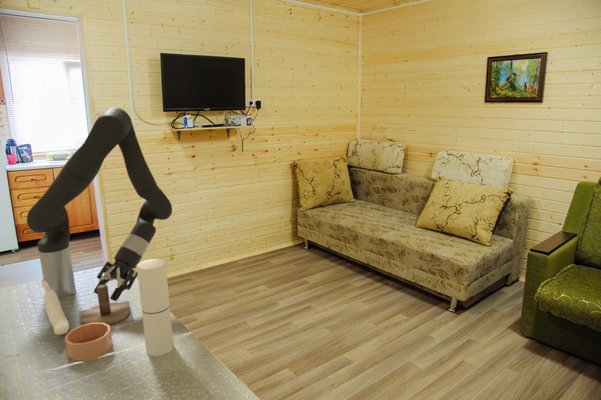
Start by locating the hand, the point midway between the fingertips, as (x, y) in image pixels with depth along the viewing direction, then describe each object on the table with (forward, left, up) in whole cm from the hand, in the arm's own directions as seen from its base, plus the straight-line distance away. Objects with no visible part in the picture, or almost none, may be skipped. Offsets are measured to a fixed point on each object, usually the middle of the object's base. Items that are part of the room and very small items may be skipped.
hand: (104, 296), depth 131 cm
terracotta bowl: (+17, -5, -7) cm, 19 cm away
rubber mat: (0, 0, -7) cm, 7 cm away
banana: (+2, -13, -7) cm, 15 cm away
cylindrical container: (+26, +12, -7) cm, 29 cm away
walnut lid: (0, 0, -6) cm, 7 cm away
